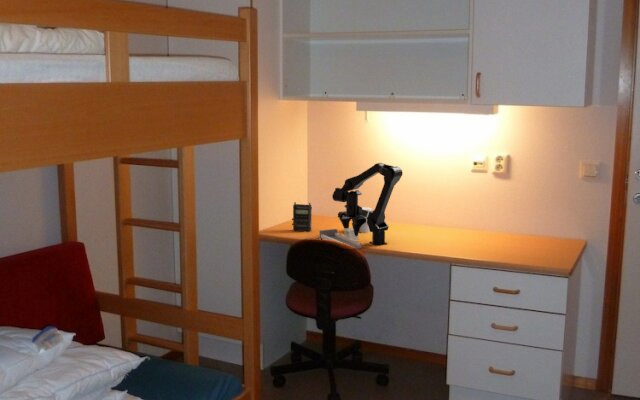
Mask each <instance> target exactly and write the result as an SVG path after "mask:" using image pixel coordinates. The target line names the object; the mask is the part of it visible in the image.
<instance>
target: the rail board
mask: <svg viewBox="0 0 640 400" xmlns="http://www.w3.org/2000/svg"><path fill="white" fill-rule="evenodd" d="M318 238H320V239H327V240H332V241H337V242H341V243H345V244H348V245H350V246H352V247H355V248H356V249H361V248H363V245H361V242H360V241H357V240H353V239H351V238H348V237H346V236H345V235H344V234H341V233H338V228H337V229H336V228H331V229H324V230H319V236H318V237H317V239H318ZM320 239H319V240H320Z"/></svg>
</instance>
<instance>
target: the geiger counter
mask: <svg viewBox="0 0 640 400" xmlns="http://www.w3.org/2000/svg"><path fill="white" fill-rule="evenodd" d="M292 206H293V207H292V215H293V217H292V218H291V220H292V223H291V226H292V227H293V228H292V231H293V230H294V231H293V232H304V231H306V233H311V232H312V209H313V207H312V204H311V202H309V203H308V204H301V203H300V204H298V203H296V201H294V203H293V205H292Z"/></svg>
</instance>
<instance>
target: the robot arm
mask: <svg viewBox="0 0 640 400" xmlns="http://www.w3.org/2000/svg"><path fill="white" fill-rule="evenodd" d="M377 174H379V175H381V176H383V182H384V184H383V186H382V189H381V192H380V195H379V198H378V200H377V202H376V204H375V208H374V209H373V210H371V211H369V214H368V211H366V210H363V209H362V207H363V206H360V205H359V196H361V195H362V192H361V191H360V190H359V189H360V188H361V187H362V186H363V184H364V183H365V182H366V181H368V180H369V179H371V178H373V177H374V176H376V175H377ZM402 176H403V170H402V168H401V167H400V166H393V165H389V164H385V163H382V162H378V163H374V164H373V166H371V167H369V168H367V169H366V170H365V171H362V173H359V174H358V175H356V176H351V177H349V178H346V179H345V181H344V184H343V185H342V187H341V188H340V187H335V188H334V191H333V193H332V195H331V197H332V200H333V201H334V202H338V203H339V202H340V203H345V204H344V208H346V209H345V210H344V211H339V212H338V213H337V218H338V220H340V222H341V225H342V227H343V229H344V230H345V228H350V222H351V226H352V228H353V230H354V234H355V236H358V237H359V234H360V232H359V230H360V227H361V226H362V225H363V224H365V223H366V219H367V224H368V227H369V230H370V232H369V233H372V235H371V236H372V238H371V239H372V240H371V241H369V243H370V244H372V245H375V246H381V245H388V242H386V231H389V228H390V227H389V225H388V224H387V222H386V221H385V220H386V214H385V211H386V209H387V207H388V204H389V201H390V198H391V196H392V193H393V190H394V188H395V185H396V184H398V182H399V181H400V180H401V178H402ZM360 215H361V216H360ZM367 215H368V217H367ZM363 216H365V217H367V218H365V217H363Z"/></svg>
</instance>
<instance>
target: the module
mask: <svg viewBox="0 0 640 400" xmlns="http://www.w3.org/2000/svg"><path fill="white" fill-rule="evenodd" d="M344 236H346V237H348V238H351V239H353V240H355V241H357V240H359V235H358V236H355V234H354V230H353V227H349V228H345V229H344Z"/></svg>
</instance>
